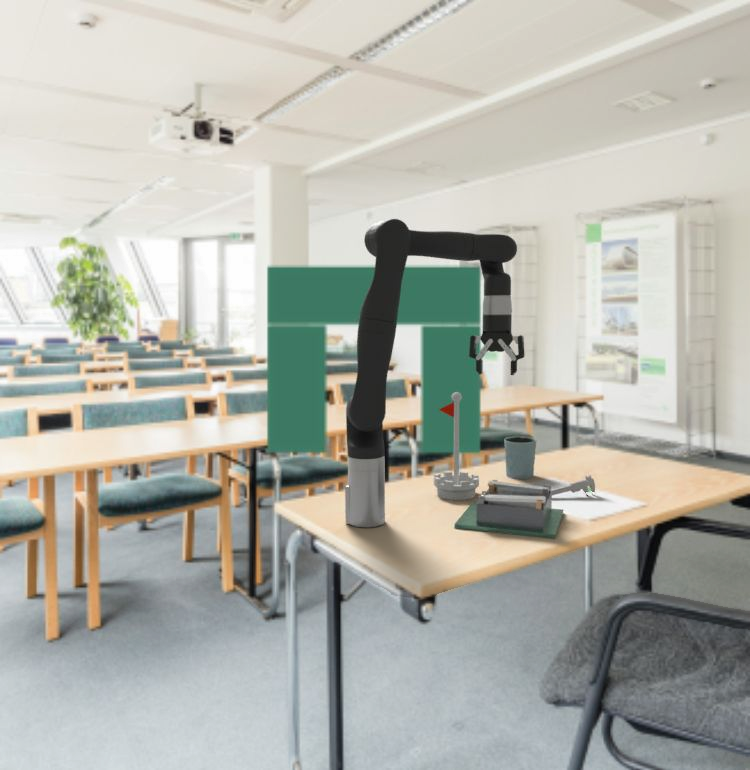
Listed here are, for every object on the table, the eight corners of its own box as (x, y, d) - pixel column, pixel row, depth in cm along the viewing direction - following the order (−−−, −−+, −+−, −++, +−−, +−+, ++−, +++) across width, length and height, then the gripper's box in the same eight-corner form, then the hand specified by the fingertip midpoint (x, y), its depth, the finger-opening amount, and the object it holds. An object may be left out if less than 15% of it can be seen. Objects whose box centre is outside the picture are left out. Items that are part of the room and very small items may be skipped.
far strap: (549, 491, 176) (549, 486, 175) (548, 494, 173) (548, 489, 173) (489, 484, 181) (489, 479, 181) (487, 486, 178) (487, 482, 178)
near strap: (479, 501, 167) (479, 496, 167) (482, 498, 170) (481, 493, 170) (544, 503, 162) (544, 498, 161) (545, 500, 164) (545, 495, 164)
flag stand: (477, 489, 203) (478, 389, 199) (480, 501, 190) (481, 394, 186) (433, 488, 204) (434, 389, 201) (433, 500, 191) (433, 394, 188)
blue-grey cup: (533, 472, 222) (534, 436, 221) (538, 480, 212) (538, 442, 211) (502, 472, 223) (502, 436, 222) (505, 479, 213) (505, 442, 212)
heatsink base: (454, 527, 166) (454, 496, 166) (473, 504, 186) (473, 477, 185) (555, 538, 158) (555, 506, 157) (563, 513, 177) (564, 484, 177)
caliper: (593, 495, 195) (593, 474, 194) (594, 496, 194) (595, 475, 193) (526, 499, 191) (526, 478, 191) (527, 500, 190) (528, 478, 190)
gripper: (467, 313, 177) (466, 375, 179) (522, 313, 172) (521, 376, 174) (473, 313, 184) (473, 372, 186) (526, 312, 179) (525, 374, 181)
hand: (496, 374), depth 180 cm, fingers open, 8 cm apart
